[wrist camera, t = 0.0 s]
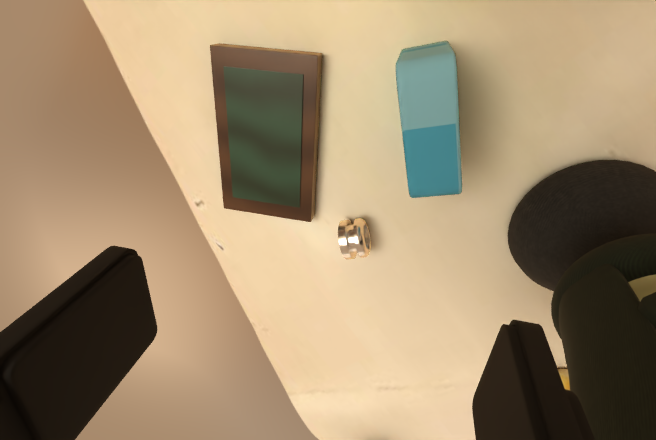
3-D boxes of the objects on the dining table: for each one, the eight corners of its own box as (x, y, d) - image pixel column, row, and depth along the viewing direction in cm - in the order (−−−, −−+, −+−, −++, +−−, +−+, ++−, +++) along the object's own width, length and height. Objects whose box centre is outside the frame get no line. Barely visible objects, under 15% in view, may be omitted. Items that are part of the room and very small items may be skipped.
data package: (401, 47, 40) (394, 64, 30) (447, 38, 38) (456, 52, 28) (413, 158, 45) (410, 204, 35) (453, 153, 44) (462, 200, 34)
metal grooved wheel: (342, 213, 51) (335, 233, 46) (364, 210, 50) (359, 229, 45) (352, 245, 53) (346, 267, 49) (373, 242, 52) (369, 264, 48)
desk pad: (218, 43, 43) (208, 45, 42) (322, 53, 42) (317, 55, 40) (230, 201, 53) (223, 209, 52) (314, 215, 52) (310, 223, 50)
